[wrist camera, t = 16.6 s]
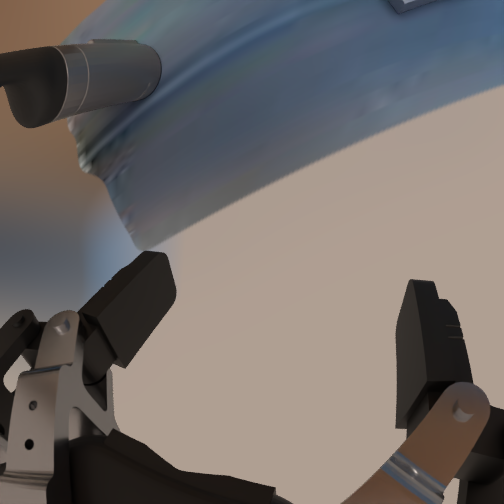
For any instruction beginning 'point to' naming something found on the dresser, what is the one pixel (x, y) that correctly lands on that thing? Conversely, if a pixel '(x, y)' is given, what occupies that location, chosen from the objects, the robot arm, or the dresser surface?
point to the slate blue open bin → (407, 4)
